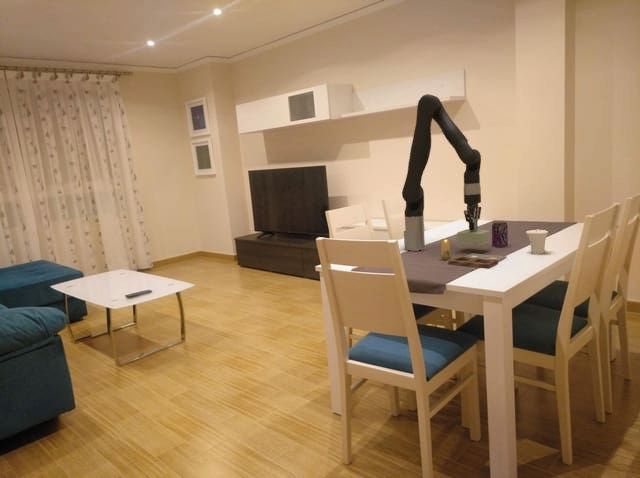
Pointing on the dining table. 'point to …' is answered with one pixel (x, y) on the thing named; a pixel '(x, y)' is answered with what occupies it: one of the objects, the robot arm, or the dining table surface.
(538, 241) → the cup
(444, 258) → the brass pin
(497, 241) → the beverage can
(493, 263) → the walnut frame
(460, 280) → the dining table surface
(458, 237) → the green cover
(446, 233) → the dining table surface
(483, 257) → the grey mat
